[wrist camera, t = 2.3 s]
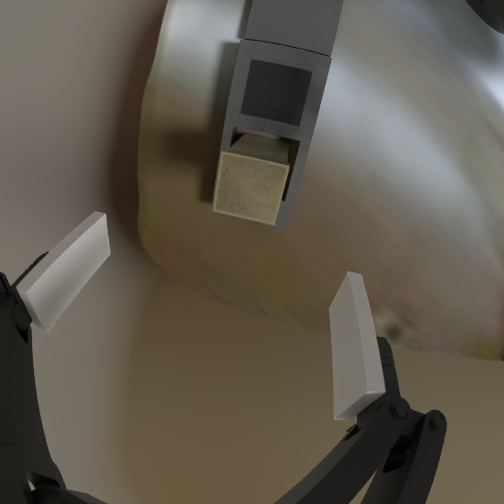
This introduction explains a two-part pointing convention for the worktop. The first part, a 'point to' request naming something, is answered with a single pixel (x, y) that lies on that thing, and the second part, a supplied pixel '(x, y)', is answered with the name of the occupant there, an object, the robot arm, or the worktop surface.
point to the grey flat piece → (276, 104)
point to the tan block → (252, 178)
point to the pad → (295, 23)
